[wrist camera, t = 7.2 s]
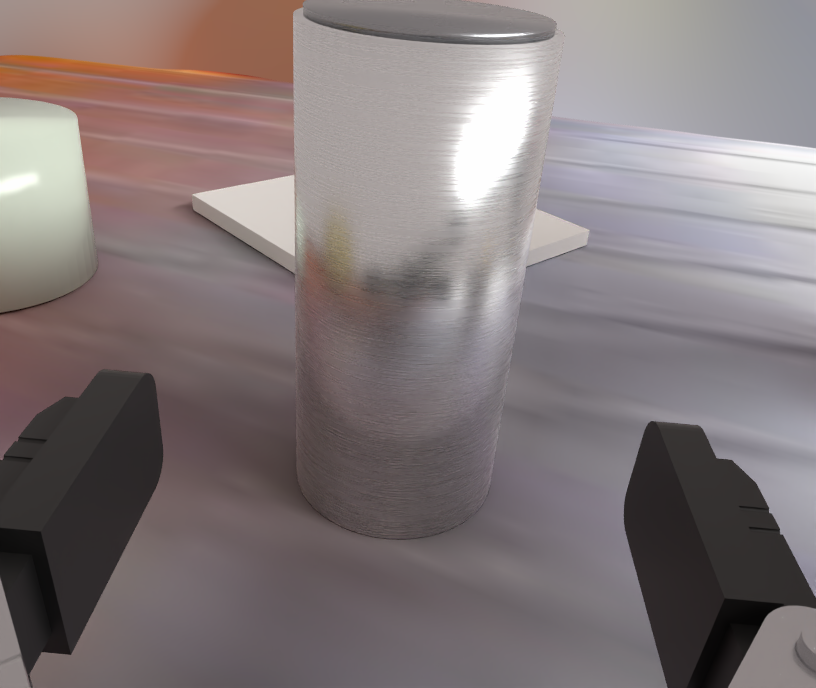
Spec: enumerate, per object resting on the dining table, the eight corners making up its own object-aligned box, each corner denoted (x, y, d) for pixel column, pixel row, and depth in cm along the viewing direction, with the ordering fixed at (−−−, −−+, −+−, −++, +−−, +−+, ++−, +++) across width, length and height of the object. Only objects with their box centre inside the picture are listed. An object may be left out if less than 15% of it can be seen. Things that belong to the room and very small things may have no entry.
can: (401, 390, 25) (433, -9, 19) (530, 479, 22) (621, 27, 15) (257, 456, 22) (239, -5, 15) (384, 573, 18) (425, 43, 12)
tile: (400, 167, 46) (401, 154, 46) (586, 244, 38) (589, 230, 37) (193, 209, 38) (191, 194, 37) (371, 322, 29) (373, 303, 29)
